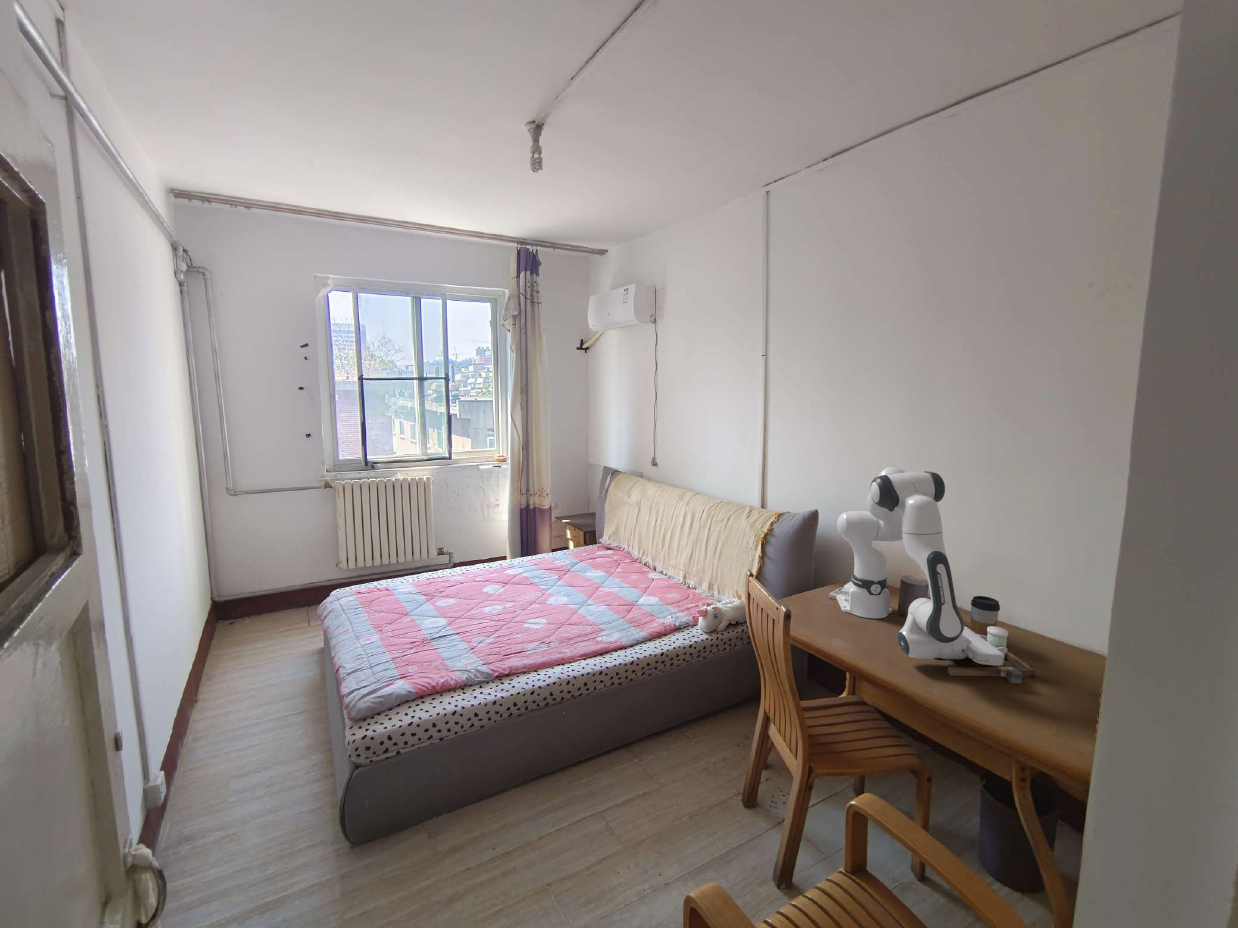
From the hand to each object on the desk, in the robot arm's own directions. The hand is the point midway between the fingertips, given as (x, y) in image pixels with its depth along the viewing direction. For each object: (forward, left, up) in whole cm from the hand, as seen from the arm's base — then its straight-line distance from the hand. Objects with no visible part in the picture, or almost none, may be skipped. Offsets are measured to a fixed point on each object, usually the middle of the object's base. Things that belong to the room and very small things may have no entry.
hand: (998, 644), depth 175 cm
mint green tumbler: (0, -1, -6) cm, 6 cm away
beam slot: (+2, -5, -7) cm, 9 cm away
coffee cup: (-16, +5, -7) cm, 18 cm away
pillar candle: (-39, -7, -7) cm, 40 cm away
